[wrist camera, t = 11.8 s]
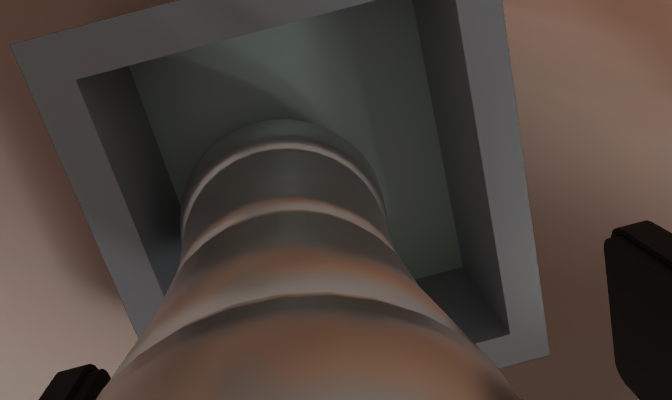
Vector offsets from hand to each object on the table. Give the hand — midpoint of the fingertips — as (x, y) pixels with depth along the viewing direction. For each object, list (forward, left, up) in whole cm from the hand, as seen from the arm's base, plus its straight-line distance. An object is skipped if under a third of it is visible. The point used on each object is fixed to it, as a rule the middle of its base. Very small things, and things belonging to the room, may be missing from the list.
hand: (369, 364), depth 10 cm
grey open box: (0, 0, -12) cm, 12 cm away
